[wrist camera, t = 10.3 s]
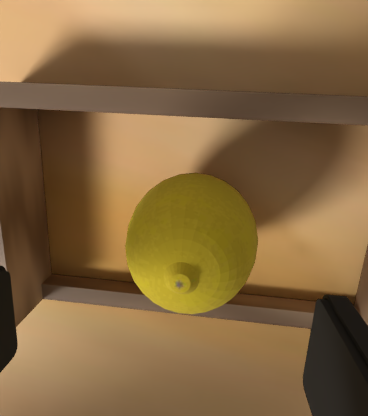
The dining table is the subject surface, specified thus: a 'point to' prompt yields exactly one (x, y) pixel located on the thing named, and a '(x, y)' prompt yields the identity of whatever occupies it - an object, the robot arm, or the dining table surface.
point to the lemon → (191, 243)
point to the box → (132, 104)
